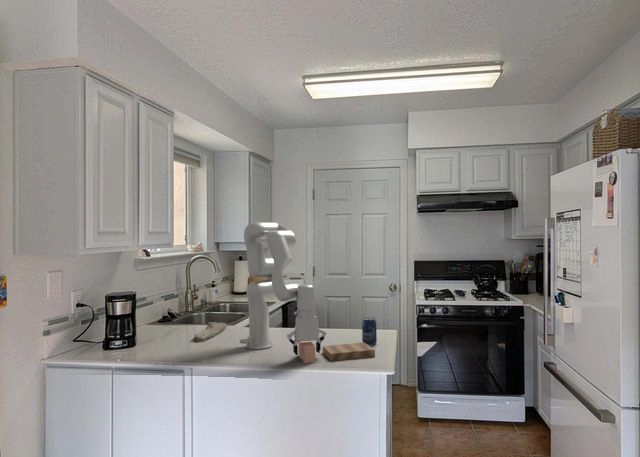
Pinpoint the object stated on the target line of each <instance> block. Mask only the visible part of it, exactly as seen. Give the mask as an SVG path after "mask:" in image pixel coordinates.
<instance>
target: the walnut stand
mask: <svg viewBox="0 0 640 457" xmlns="http://www.w3.org/2000/svg"><path fill="white" fill-rule="evenodd" d="M322 354H323V355H324V356H325V357H326V358H328V359H329V361H330V362H334V361H335V362H336V361H343V360H355V359H364V358H374V357H376V350H375V349H374V348H373V347H371V345H367V344H366V343H363V342H356V343H355V342H353V343H343V344H331V345H323V346H322Z"/></svg>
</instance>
